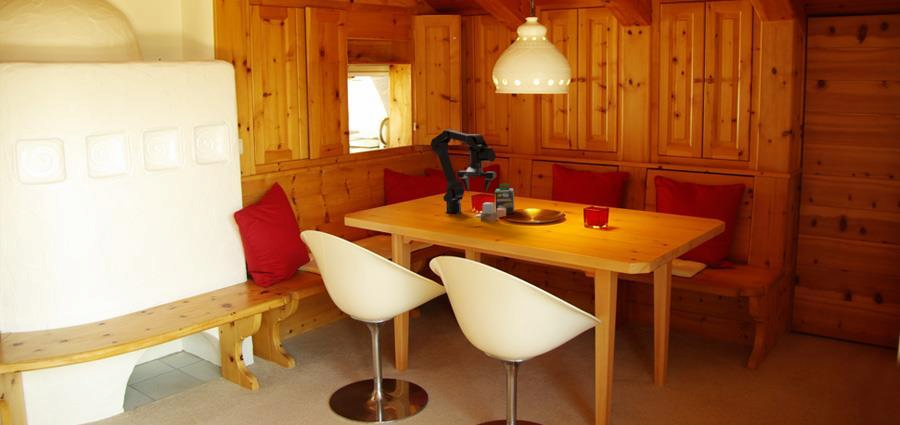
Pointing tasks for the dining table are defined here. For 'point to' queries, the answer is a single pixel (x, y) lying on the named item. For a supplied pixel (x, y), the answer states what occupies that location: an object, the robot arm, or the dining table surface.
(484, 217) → the walnut block
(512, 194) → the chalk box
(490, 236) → the dining table surface
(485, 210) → the blue cube
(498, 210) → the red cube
